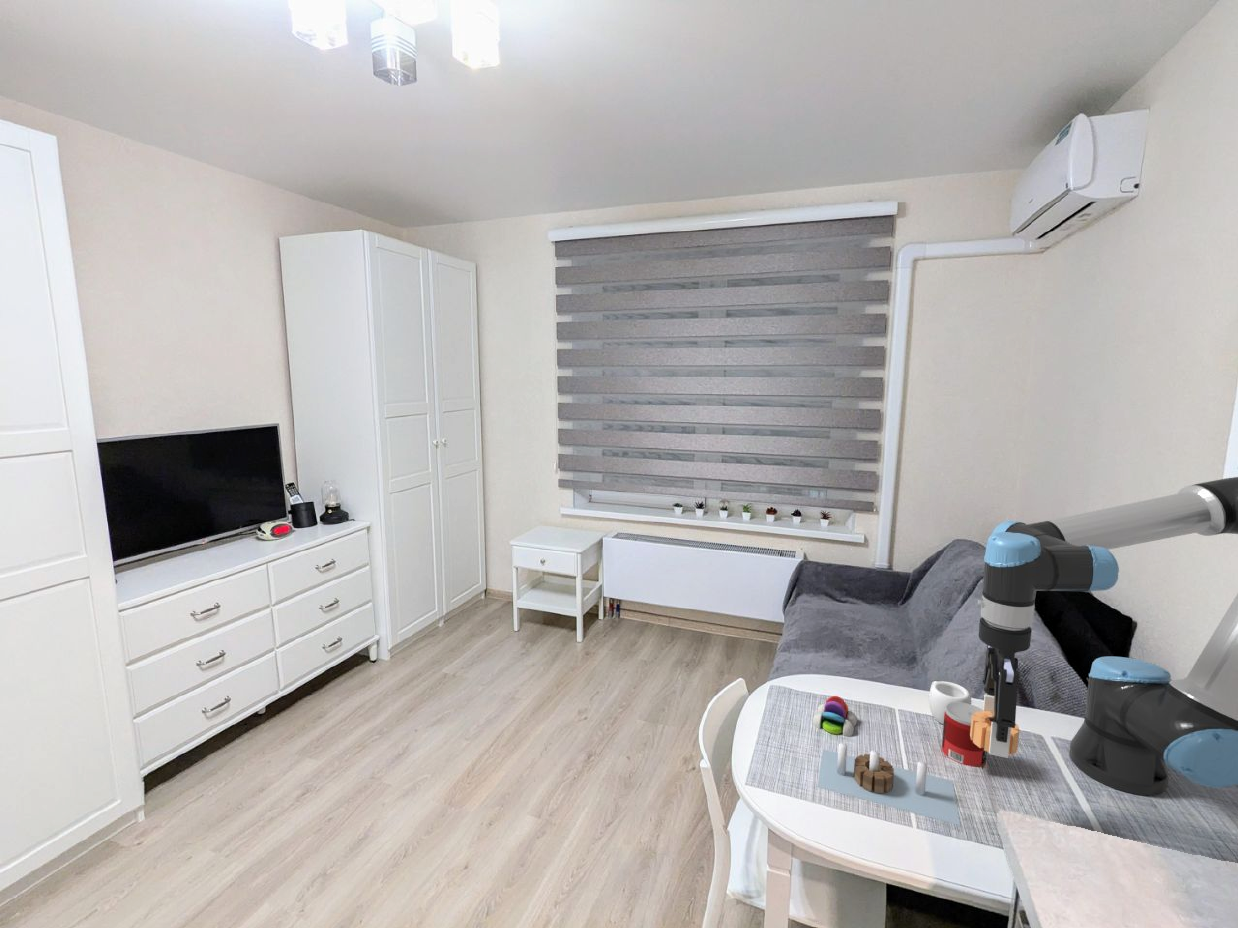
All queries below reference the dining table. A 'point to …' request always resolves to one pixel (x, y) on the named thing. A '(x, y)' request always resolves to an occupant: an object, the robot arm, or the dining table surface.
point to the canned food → (961, 735)
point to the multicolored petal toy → (835, 717)
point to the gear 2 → (989, 732)
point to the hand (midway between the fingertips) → (994, 741)
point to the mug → (946, 697)
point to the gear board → (907, 791)
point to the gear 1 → (873, 774)
